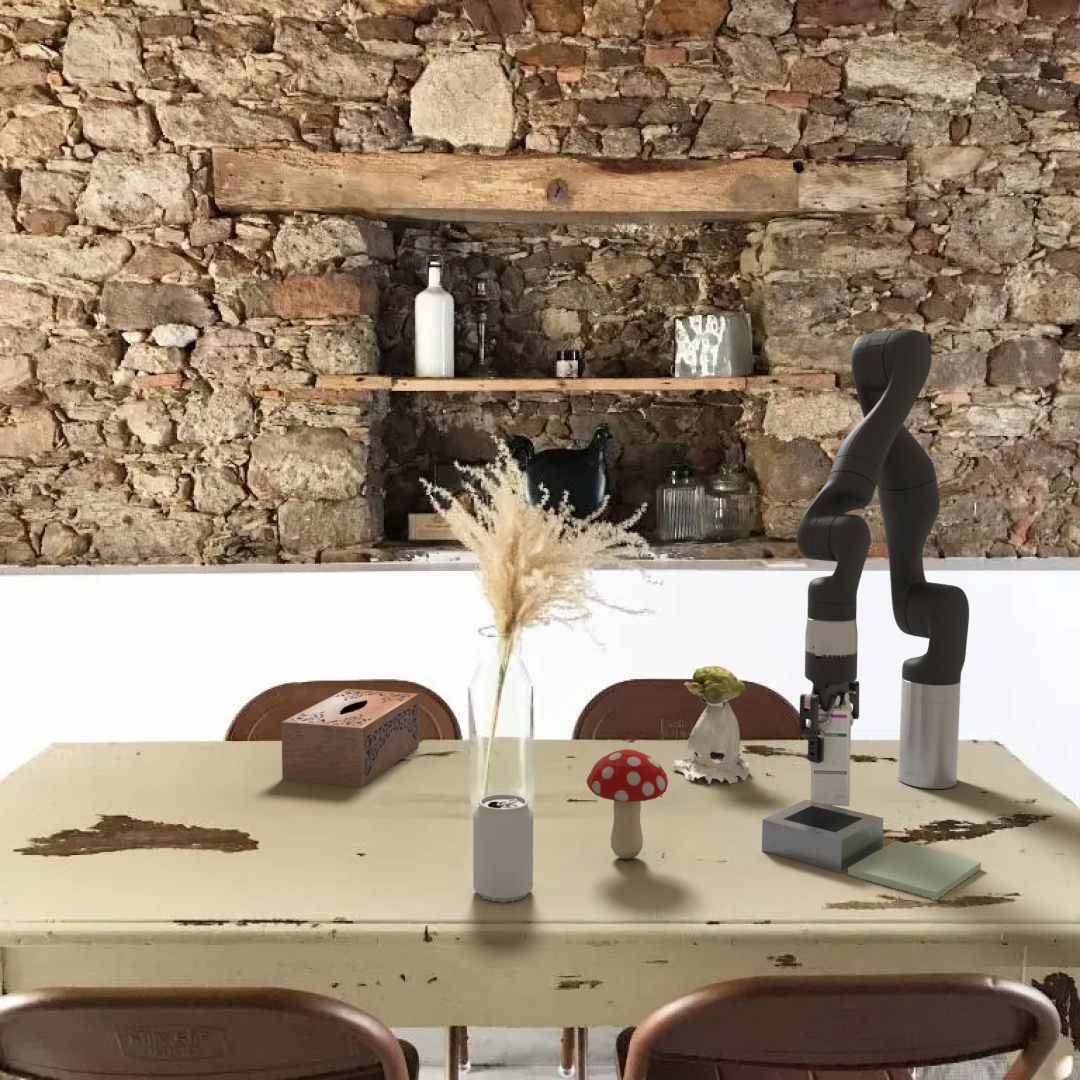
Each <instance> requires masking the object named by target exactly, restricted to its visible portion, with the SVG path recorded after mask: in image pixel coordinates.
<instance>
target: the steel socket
mask: <svg viewBox="0 0 1080 1080" xmlns="http://www.w3.org/2000/svg"><path fill="white" fill-rule="evenodd" d="M761 827H762V828H761V831H762V832H761V852H764V853H768V854H771V855H774V856H775V855H776V856H779V857H782V858H785V859H789V860H792V861H796V862H800V863H803V864H807V865H811V866H814V867H817V866H818V867H817V868H820V867H822V869H824V868H827V869H829V870H828V871H831V870H833V871H832V872H835V871H836V872H835V873H838V872H840V873H839V874H843V873H844V872H845V870H846V871H848V868H849V867H850V866H852V865H854V864H856V863H857V862H859V861H861V860H863V859H864V858H866V857H868V856H870V855H871V854H873V853H875V852H877V851H878V850H880V849H882V848H883V843H884V817H880V816H876V815H872V814H869V813H864V812H860V811H856V810H851V809H848V808H843V807H841V806H833V805H827V804H823V803H819V802H815V801H811V799H804V800H802V801H800V802H797V803H795V804H793V805H791V806H789V807H787V808H784V809H782V810H780V811H778V812H775V813H773V814H771V815H769V816H767V817H764V818H762V824H761ZM827 869H826V870H827ZM843 871H844V872H843Z"/></svg>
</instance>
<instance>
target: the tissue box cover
mask: <svg viewBox="0 0 1080 1080" xmlns="http://www.w3.org/2000/svg"><path fill="white" fill-rule="evenodd" d="M418 745H419V746H420V693H415V692H414V693H412V692H401V691H400V692H397V691H385V690H384V691H383V690H367V689H356V688H355V689H352V688H345V689H343V690H341V691H340V692H337V693H335V694H334V695H332V696H330V697H327V698H326V699H324V700H322V701H319V702H318V703H316V704H314V705H312V706H310V707H308V708H306V709H304V710H302V711H301V712H298V713H297V714H294V715H292V716H291V717H288V718H287V719H285V720H282V721H281V772H282V774H281V775H282V776H281V777H282V780H284V781H295V782H304V783H318V784H328V785H341V786H349V787H365V786H366V785H368V784H369V783H370V782H372V781H373V780H375V779H376V778H377V777H379V776H380V775H381V774H383V773H384V772H386V770H388V769H389V768H392V766H394V765H396V763H398V762H399V761H400V760H402V759H403V758H404V756H405V757H406V756H408V755H409V754H410V753H411V752H413V751H414V750H416V749H417V748H418V747H419V746H418ZM417 746H418V747H417ZM416 747H417V748H416ZM415 748H416V749H415ZM413 749H414V750H413ZM412 750H413V751H412Z"/></svg>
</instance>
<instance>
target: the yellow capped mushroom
mask: <svg viewBox="0 0 1080 1080" xmlns="http://www.w3.org/2000/svg"><path fill="white" fill-rule="evenodd" d="M691 679H692V682H689V681H686V682H684V684H683V686H685V687H686V688H687V690H688V691H689V692H690V693H692V694H693V695H695V696H697V697H700V700H701V701H702V702H703V703H704V704H707V705H706V707H705V709H703V711H702V713H701V714H700V716H699V717H698V720H697V722H696V723H695V726H694V727H693V728H692V730H691V733H690V735H689V738H688V739H687V745H686V746H687V750H690V751H691V752H692V755H691V756H690V757H686V758H682V759H681V760H679V759H677V760H676V759H675V760H674V761H673V764H672V767H671V771H678V772H682V773H683V775H684V777H685V778H686V779H687V780H688V781H692V782H694V781H695V778H696V779H700V778H701V777H704V779H705V780H706V781H707V783H708V784H709V785H710V784H711V783H712V779H713V780H714V779H716V780H718V781H720V783H723V782H724V780H727V781H728V784H730V785H732V784H731V783H733V784H736V783H737V782H738V781H739V777H740V778H741V781H746V780H747V778H748V776H749V771H750V763H749V762H746V761H745V759H743V758H741V757H740V756H741V754H740V746H741V738H740V737H741V736H740V735H741V734H740V726H739V722H738V719H737V716H736V715H735V712H734V710H733V709H732V707H731V705H730V703H729V700H730V701H731V700H732V699H735V698H736V697H739V696H740V695H741V694H742V692H743V691H744V690H746V685H745V684H744V683H743V682H742V681H741V680H740V679H738V678H737V676H736V675H734V673H733V672H732V671H730V670H729V669H727V668H725V667H723V666H720V665H719V666H717V665H709V666H703V667H701V668H697V669H696V670H694V672H693V674H692V678H691ZM716 760H717V761H720V762H718V763H717V762H715V761H716ZM737 776H739V777H737ZM686 779H685V780H686ZM687 780H686V781H687ZM735 782H736V783H735Z"/></svg>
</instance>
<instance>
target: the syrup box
mask: <svg viewBox="0 0 1080 1080" xmlns="http://www.w3.org/2000/svg"><path fill="white" fill-rule="evenodd" d="M826 714H827V712H824V711H823V710H822V709H819V716H825V715H826ZM819 726H820V723H819V722H818V729H819ZM850 727H851V726H850V712H849V707H848V705H838V707H837V708H836V709H834V712H833V719H832V722H831V724H830V725H828V726H827V727H826V730H825V733H824V736H823V738H824V760H823V762H821V763H815V762H810V761H809V777H810V778H809V789H810V790H809V791H810V792H809V793H810V800H811V801H815V802H819V803H823V804H827V805H831V806H836V807H841V806H842V807H849V806H850V804H851V802H850V801H851V799H850V798H851V737H850Z"/></svg>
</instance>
